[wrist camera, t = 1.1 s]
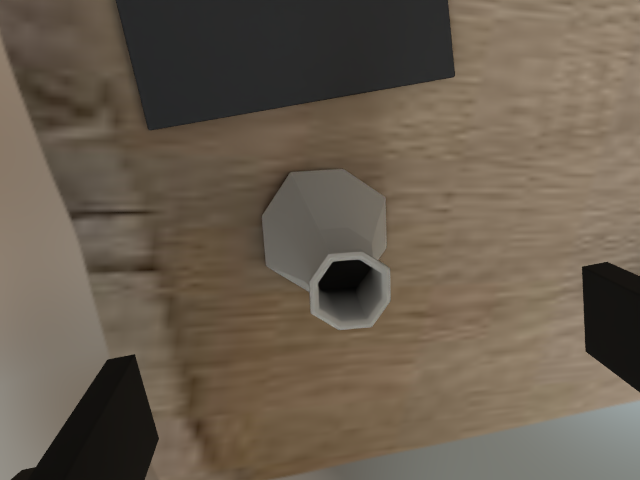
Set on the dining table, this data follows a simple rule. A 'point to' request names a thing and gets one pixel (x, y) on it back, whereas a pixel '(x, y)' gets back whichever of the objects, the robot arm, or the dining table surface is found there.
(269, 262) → the flask
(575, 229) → the dining table surface
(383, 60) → the placemat
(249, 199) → the dining table surface
